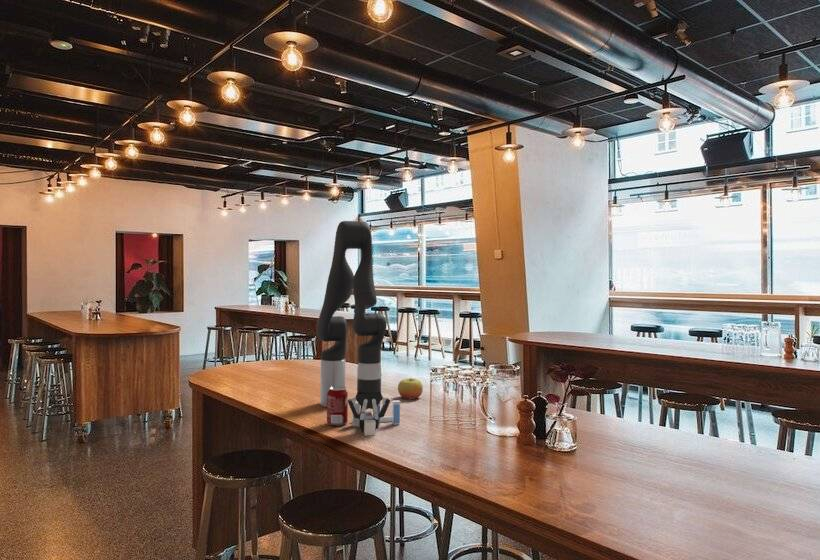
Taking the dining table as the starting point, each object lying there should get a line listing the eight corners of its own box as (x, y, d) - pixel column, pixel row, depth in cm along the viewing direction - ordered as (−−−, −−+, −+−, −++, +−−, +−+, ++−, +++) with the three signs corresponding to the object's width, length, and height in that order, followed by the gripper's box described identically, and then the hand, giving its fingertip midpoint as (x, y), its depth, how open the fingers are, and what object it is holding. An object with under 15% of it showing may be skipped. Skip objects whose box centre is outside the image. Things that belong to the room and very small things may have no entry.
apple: (408, 402, 218) (409, 381, 218) (392, 397, 225) (393, 377, 225) (427, 398, 224) (427, 378, 224) (411, 394, 232) (411, 374, 231)
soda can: (343, 427, 182) (344, 390, 182) (323, 426, 184) (324, 389, 183) (350, 421, 189) (350, 386, 189) (330, 420, 190) (331, 385, 190)
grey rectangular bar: (360, 423, 187) (361, 411, 186) (370, 423, 187) (370, 411, 187) (365, 435, 174) (365, 422, 174) (375, 435, 174) (375, 422, 174)
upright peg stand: (351, 422, 188) (351, 399, 188) (397, 420, 191) (397, 398, 191) (352, 426, 183) (353, 403, 183) (400, 424, 186) (400, 401, 186)
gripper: (389, 373, 183) (389, 426, 183) (346, 374, 180) (345, 428, 180) (393, 378, 175) (392, 433, 176) (347, 379, 173) (347, 435, 173)
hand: (368, 430), depth 178 cm, fingers closed on grey rectangular bar, 3 cm apart
